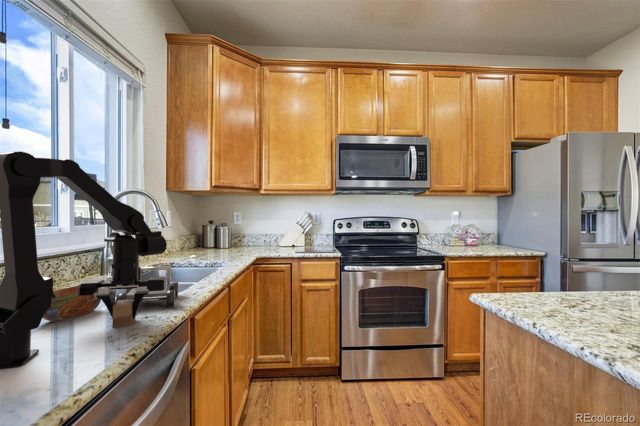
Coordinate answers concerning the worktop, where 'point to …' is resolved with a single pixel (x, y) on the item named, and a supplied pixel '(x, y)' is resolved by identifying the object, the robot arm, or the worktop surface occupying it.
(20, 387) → the worktop surface
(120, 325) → the block
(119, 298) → the trolley
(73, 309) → the tin
